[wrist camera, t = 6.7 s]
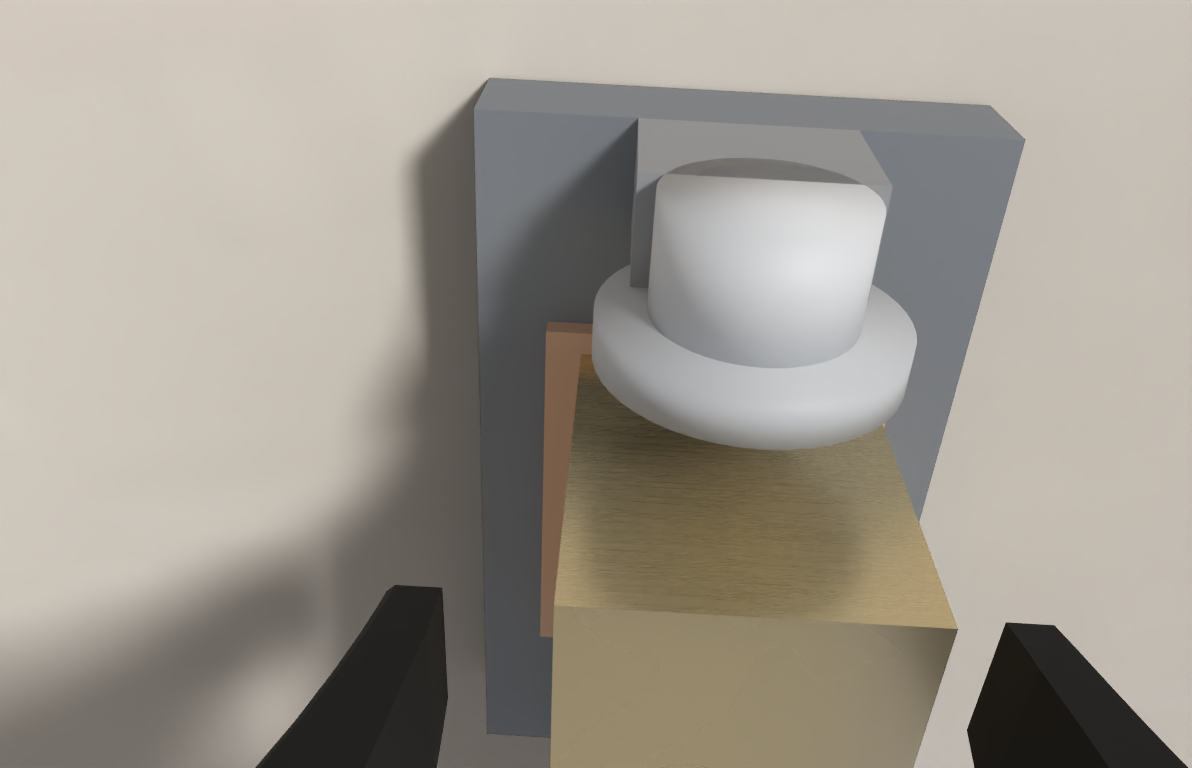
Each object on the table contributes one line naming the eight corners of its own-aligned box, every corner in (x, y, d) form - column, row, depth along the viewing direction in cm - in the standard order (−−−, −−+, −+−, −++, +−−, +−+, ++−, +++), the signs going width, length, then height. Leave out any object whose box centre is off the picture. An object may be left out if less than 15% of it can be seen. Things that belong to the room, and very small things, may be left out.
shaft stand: (840, 694, 20) (904, 994, 15) (497, 672, 20) (449, 964, 15) (989, 105, 14) (1183, 291, 9) (489, 77, 14) (404, 246, 9)
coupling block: (808, 623, 17) (864, 914, 12) (571, 610, 17) (547, 896, 12) (862, 369, 14) (958, 629, 10) (580, 353, 14) (553, 605, 10)
